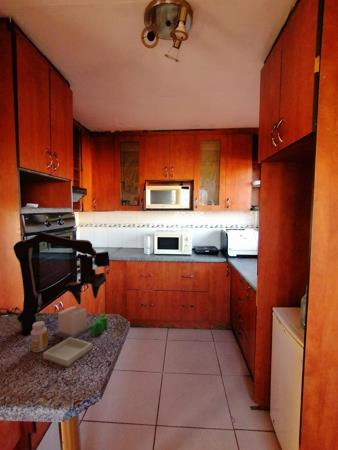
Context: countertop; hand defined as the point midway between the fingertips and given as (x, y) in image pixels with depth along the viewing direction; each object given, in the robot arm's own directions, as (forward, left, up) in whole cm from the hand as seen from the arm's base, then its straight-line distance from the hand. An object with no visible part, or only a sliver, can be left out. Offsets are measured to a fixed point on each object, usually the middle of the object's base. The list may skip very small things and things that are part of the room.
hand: (87, 301), depth 113 cm
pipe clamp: (+11, -4, -10) cm, 15 cm away
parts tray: (+12, -22, -10) cm, 27 cm away
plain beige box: (0, -9, -10) cm, 14 cm away
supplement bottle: (-1, -24, -10) cm, 26 cm away
